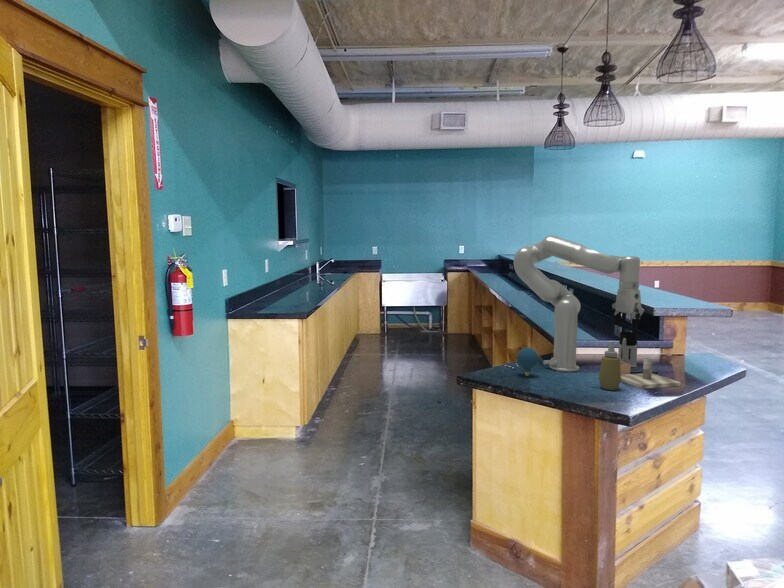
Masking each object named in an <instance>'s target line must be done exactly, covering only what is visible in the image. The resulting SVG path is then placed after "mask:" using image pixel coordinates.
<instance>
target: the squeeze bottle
mask: <svg viewBox="0 0 784 588" xmlns="http://www.w3.org/2000/svg"><path fill="white" fill-rule="evenodd" d="M600 360H601V361H600V367H599V368H600V369H599V373H598V381H599V384H600V385H599V386H600V387H601V388H602V389H603V390H606V391H607V390H609V391H615V390H618V389H619V386H620V384H621V382H622V381H621V372H620V359H619V358H618V351H615V345H614V342H613V341H611V342H609V345H608V349H607V350H604V356H602V357H601V359H600Z"/></svg>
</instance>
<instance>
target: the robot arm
mask: <svg viewBox="0 0 784 588" xmlns="http://www.w3.org/2000/svg"><path fill="white" fill-rule="evenodd" d="M551 257H554V258H557V259H561V260H564V261H567V262H570V263H573V264H575V265H578V266H583V267H585V268H588V269H590V270H595V271H597V272H600V273H603V274H608V275H609V274H615V273H619V277H618V280H619V281H618V289H617V292H616V299H615V302H614V303H612V304H611V307H612V312H613V315H614V326H621V325H622V324H623V319H622V318H623V315H622V314H629V315H631V316H632V318H631V326H630V327H631V329H639V326H640V320H641V317H642V316H643V314H644V312H645V309H644V308H643V307H642V297H641V290H640V289H639V287H640V270H641V269H640V266H641V259H640V257H638V256H629V255H627V256H626V255H625V256H618V255H614V254H613V255H610V254H606V253H602V252H599V251H597V250H595V249H594V250H593V249H591V248H589V247H587V246H585V245H583V244H581V243H578V242H576V241H575V242H574V241H571V240H567V239H564V238H562V237H559V236H557V235H548V236H545V237H544V238H543V239H542V240H541V241H539V242H536V243H534V244H532V245H529V246H522V247H520V248H519V249H517V251H516V253H515V255H514V258H513V268H514V271H515V274H516V275H517V276H518V278H519V279H520V280H521V281H522V282H523V283H524V284H525V285H527V287H528V288H529V289H531V291H533V292H534V293H535V294H536V295H537V296H538V297H539V298H540V299H541V300H542V301H544V302H547V303H550V304H551V305H552V306H554V311H553V312H554V314H553V315H554V330H553V331H554V337H553V339H554V341H553V357H551V359H544V360H542V363H543V365H549V369H551V370H553V371H559V372H570V373H571V372H577V371H580V366H579V365H577V344H578V343H577V342H578V341H577V340H578V316H579V315H578V314H579V312H580V311H581V302H580V300H579V299H578V298H577V296H575V295H574V294H573V293H572V292H571V291H570V290H568V289H567V288H566V287H565V286H564V285H562V283H560V282H559V281H557V280H555V279H550V278H549V277H548V276H546V275H545V274H544V273H543V272H542V271H541V270H540V269H538V268H537V267H536V266H535V265H536V264H537V263H540V262H542V261H544V260H547V259H549V258H551Z"/></svg>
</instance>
